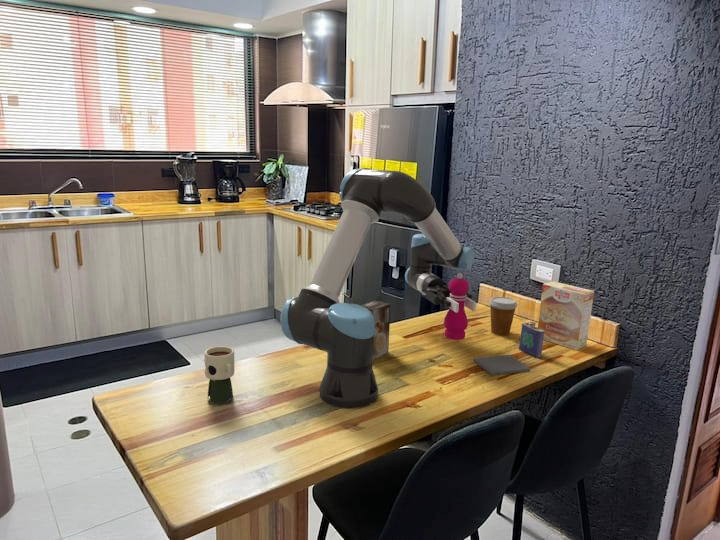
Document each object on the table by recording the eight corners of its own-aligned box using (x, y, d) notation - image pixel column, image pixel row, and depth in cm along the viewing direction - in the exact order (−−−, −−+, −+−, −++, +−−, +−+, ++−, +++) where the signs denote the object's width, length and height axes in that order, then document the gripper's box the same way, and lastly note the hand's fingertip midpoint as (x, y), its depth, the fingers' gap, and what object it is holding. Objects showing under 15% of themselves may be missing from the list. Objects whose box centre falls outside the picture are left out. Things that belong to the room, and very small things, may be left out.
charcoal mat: (491, 375, 158) (491, 372, 158) (472, 360, 168) (472, 358, 168) (529, 371, 162) (530, 368, 161) (509, 356, 172) (509, 354, 172)
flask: (543, 357, 172) (547, 325, 170) (535, 359, 171) (539, 326, 169) (523, 347, 180) (526, 316, 178) (516, 348, 179) (519, 317, 177)
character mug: (197, 395, 139) (195, 347, 136) (223, 388, 143) (222, 341, 140) (217, 412, 131) (216, 361, 128) (244, 404, 135) (243, 354, 132)
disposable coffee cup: (507, 339, 187) (511, 305, 184) (481, 332, 193) (485, 300, 190) (518, 332, 195) (521, 300, 192) (493, 326, 200) (496, 294, 197)
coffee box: (372, 347, 175) (374, 299, 171) (388, 352, 172) (391, 303, 168) (354, 355, 168) (356, 305, 164) (371, 361, 164) (374, 310, 161)
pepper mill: (470, 335, 169) (475, 273, 164) (461, 342, 163) (467, 277, 158) (448, 330, 173) (453, 269, 168) (438, 337, 167) (443, 273, 162)
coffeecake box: (535, 337, 190) (542, 283, 185) (546, 333, 195) (552, 280, 190) (576, 351, 179) (584, 293, 175) (587, 346, 184) (595, 290, 179)
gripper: (455, 296, 185) (491, 317, 164) (406, 298, 180) (437, 321, 158) (457, 274, 184) (494, 293, 162) (407, 276, 178) (439, 296, 157)
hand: (466, 307), depth 160 cm, fingers closed on pepper mill, 5 cm apart
